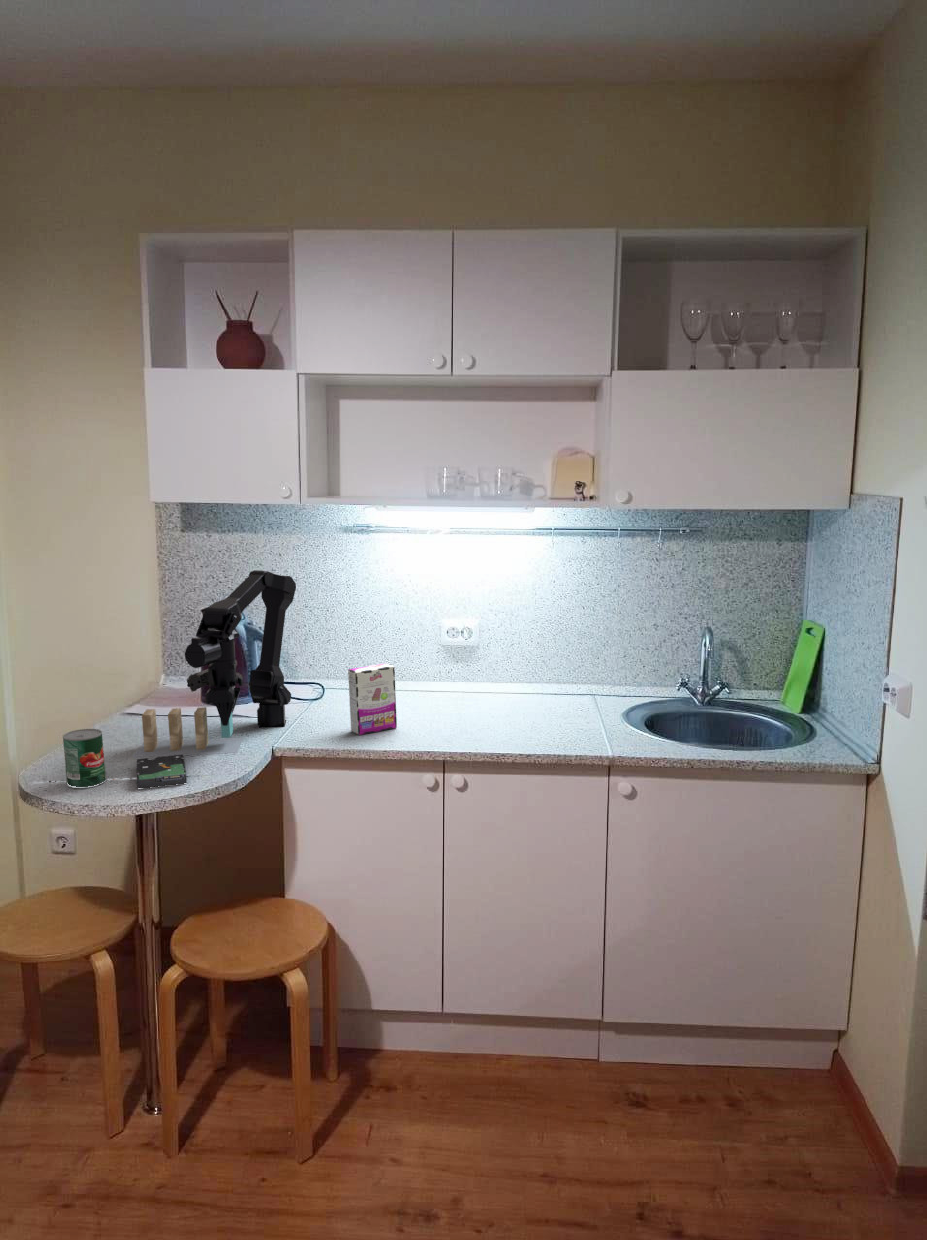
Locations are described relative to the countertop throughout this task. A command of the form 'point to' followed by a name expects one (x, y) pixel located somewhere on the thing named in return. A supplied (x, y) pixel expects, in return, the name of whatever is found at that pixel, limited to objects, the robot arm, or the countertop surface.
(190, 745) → the slate mat
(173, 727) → the maple tile
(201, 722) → the maple tile
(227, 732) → the teal tile
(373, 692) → the candy bar box
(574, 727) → the countertop surface
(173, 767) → the disk drive
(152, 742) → the maple tile
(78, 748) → the canned tomato
